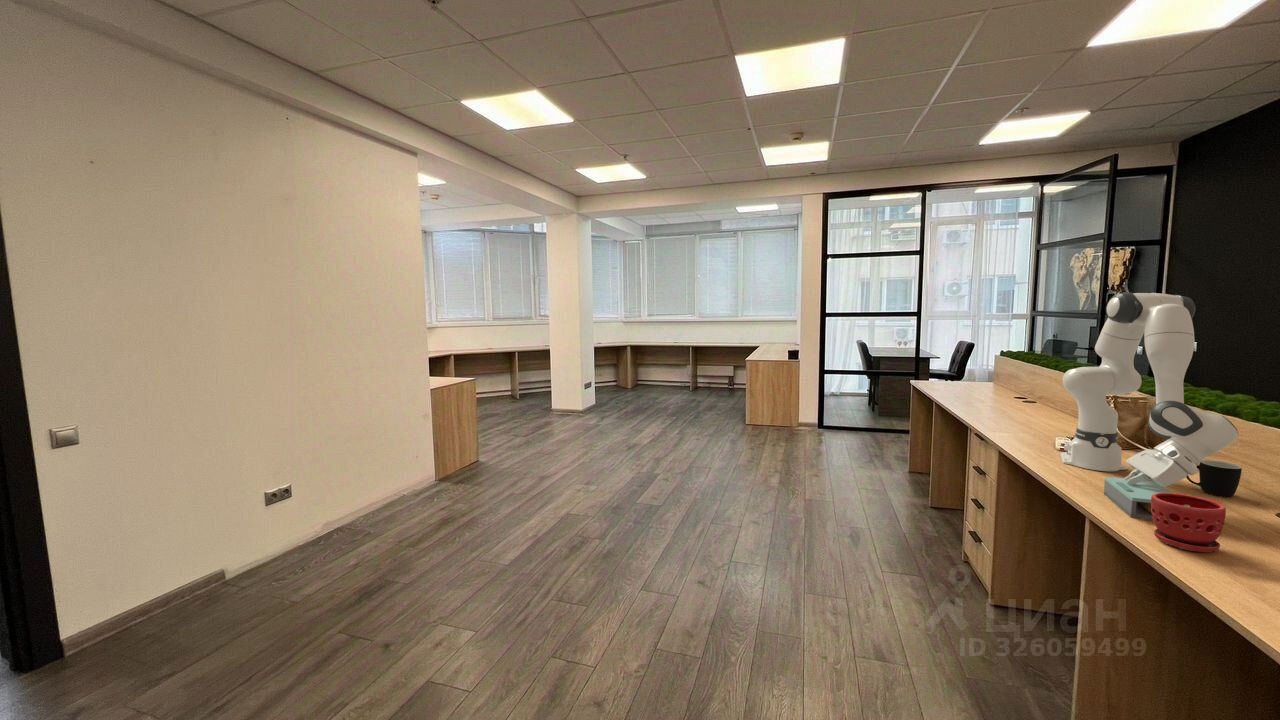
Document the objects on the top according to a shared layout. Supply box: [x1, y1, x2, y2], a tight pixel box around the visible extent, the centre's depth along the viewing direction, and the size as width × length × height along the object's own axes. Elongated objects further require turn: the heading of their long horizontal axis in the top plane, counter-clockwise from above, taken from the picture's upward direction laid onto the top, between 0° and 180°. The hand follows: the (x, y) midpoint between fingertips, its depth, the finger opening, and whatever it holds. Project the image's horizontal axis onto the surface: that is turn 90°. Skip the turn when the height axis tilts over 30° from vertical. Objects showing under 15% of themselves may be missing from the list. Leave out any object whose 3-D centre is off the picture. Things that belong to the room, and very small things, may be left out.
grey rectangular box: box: [1103, 479, 1153, 521], centre depth 153 cm, size 20×12×5 cm, turn 154°
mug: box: [1186, 459, 1243, 498], centre depth 164 cm, size 12×9×10 cm
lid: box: [1104, 476, 1190, 507], centre depth 152 cm, size 20×12×1 cm, turn 154°
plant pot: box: [1151, 492, 1227, 553], centre depth 129 cm, size 13×13×12 cm
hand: (1127, 482), depth 157 cm, fingers closed, pressing on lid
